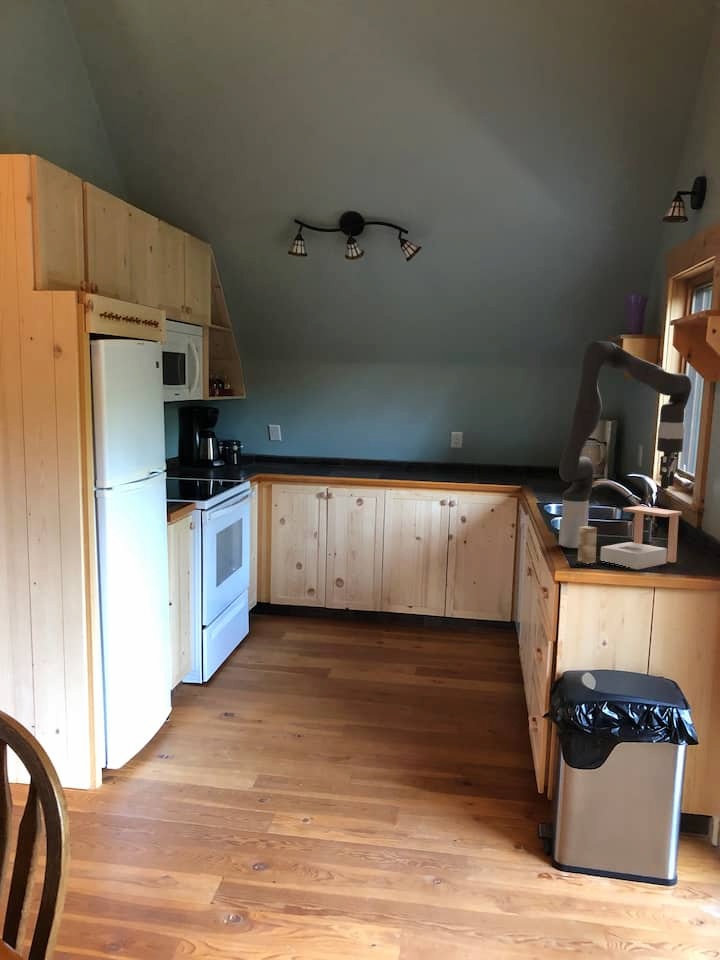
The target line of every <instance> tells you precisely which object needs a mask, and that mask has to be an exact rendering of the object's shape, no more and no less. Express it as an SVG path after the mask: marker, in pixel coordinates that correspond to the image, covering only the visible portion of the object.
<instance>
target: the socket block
mask: <svg viewBox="0 0 720 960" xmlns="http://www.w3.org/2000/svg"><path fill="white" fill-rule="evenodd" d="M667 555H668V548H666V547H660V546H654V545H648V544H645V543H642V544H639V543H634V541H629V542H622V543H616V544H611V545H604V546H600V560H601V561H605V562H610V563H615V564H619V565H623V566H626V567H625V568H628V567H630V568H629V569H632V570H633V569H634V570H642V569H646V568H651V567H655V566H656V567H657V566H661V565H664V564H667ZM600 560H599V561H600ZM605 562H604V563H605ZM619 565H618V566H619ZM623 566H622V567H623Z"/></svg>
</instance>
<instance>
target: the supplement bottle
mask: <svg viewBox="0 0 720 960" xmlns="http://www.w3.org/2000/svg"><path fill="white" fill-rule="evenodd" d="M650 516H651V515H647V514H644V517H643V537H642V542H649V543H651V539H652V528H653V527H652V525H653V520H652V518H651V517H650ZM634 526H635V516H634V517H633V519H632V529H631V531H632V532H631V541H632V540H633V541H632V542H634Z"/></svg>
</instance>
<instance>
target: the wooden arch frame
mask: <svg viewBox="0 0 720 960" xmlns="http://www.w3.org/2000/svg"><path fill="white" fill-rule="evenodd" d="M622 511H623V512H627V513H628V512H629V513H633V514H634V517H635V526H634V541H633V543H639V544H643V543H642V537H643V517H644V514H647V515H650V516H655V517H663V518H668V517H669V520H668V521H669V522H668V523H669V524H668V537H667V538H668V540H667V556H666V563H668V562H669V563H676V562H677V550H678V533H679V532H678V530H679V517H680V516H681V515H683V512H682V511H680V510H673V509H672V510H671V509H664V508H656V507H651V506H650V507H649V506H642V505H637V506H629V507H622Z"/></svg>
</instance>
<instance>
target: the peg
mask: <svg viewBox="0 0 720 960" xmlns="http://www.w3.org/2000/svg"><path fill="white" fill-rule="evenodd" d="M597 531H598V528H597V527H593V526H590V525H589V526H584V527H579V541H578V548H577V550H578V551H577V562H578V561H579V562H583V563H586V564H589V563H594V562H595V563H596V558H597V557H596V555H597V537H598V536H597V533H598V532H597Z"/></svg>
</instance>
